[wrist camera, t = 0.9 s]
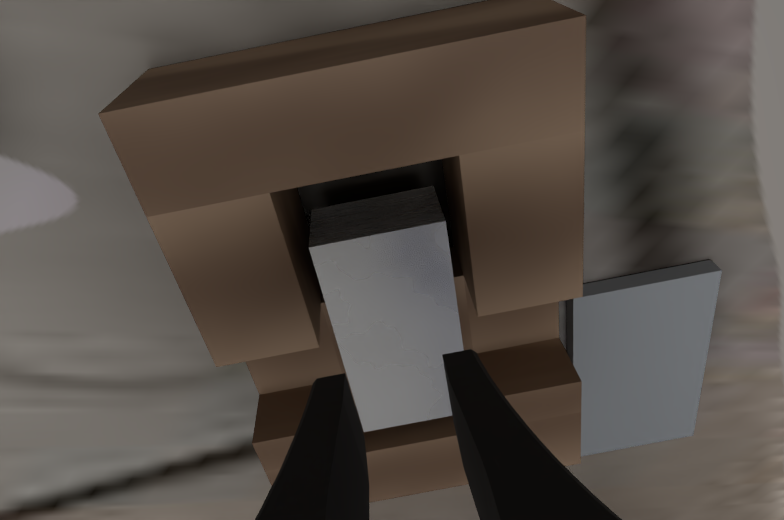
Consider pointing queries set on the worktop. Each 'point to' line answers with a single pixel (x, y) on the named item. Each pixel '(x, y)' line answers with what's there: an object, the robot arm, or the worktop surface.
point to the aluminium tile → (390, 302)
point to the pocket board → (362, 156)
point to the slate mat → (642, 354)
